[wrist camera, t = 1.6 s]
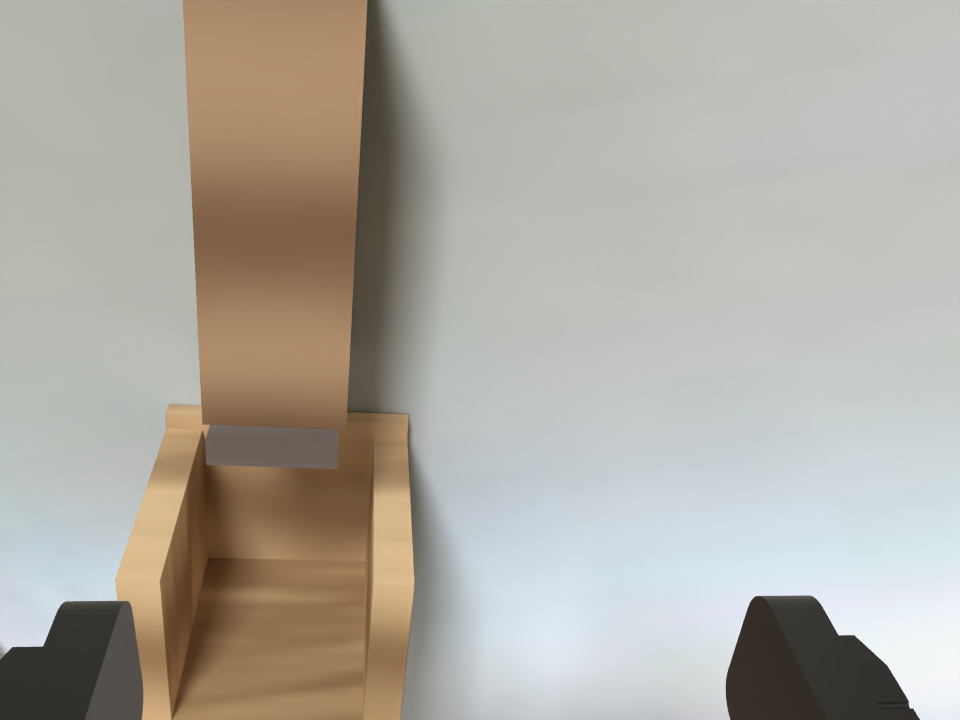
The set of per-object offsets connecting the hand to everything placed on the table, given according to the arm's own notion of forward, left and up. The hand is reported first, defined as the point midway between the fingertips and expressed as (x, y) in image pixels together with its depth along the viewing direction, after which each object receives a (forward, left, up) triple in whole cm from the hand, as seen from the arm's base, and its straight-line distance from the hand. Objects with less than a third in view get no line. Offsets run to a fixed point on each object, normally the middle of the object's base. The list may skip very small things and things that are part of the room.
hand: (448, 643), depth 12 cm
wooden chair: (+13, -3, -19) cm, 24 cm away
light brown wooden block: (0, -3, -20) cm, 20 cm away
